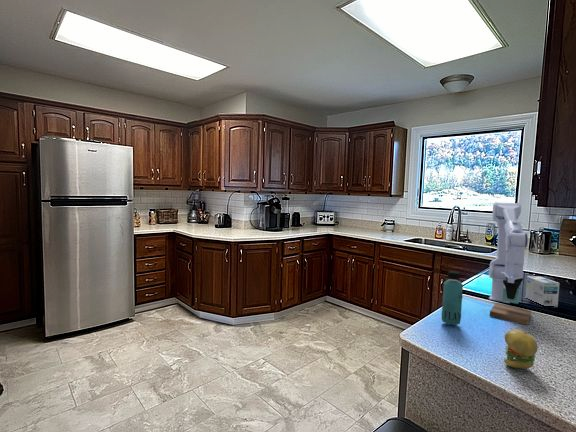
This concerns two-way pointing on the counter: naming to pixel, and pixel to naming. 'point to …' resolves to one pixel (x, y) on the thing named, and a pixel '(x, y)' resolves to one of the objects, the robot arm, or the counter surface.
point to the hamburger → (520, 349)
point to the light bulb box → (542, 290)
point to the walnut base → (510, 313)
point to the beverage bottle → (452, 299)
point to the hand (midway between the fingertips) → (511, 297)
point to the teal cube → (516, 299)
